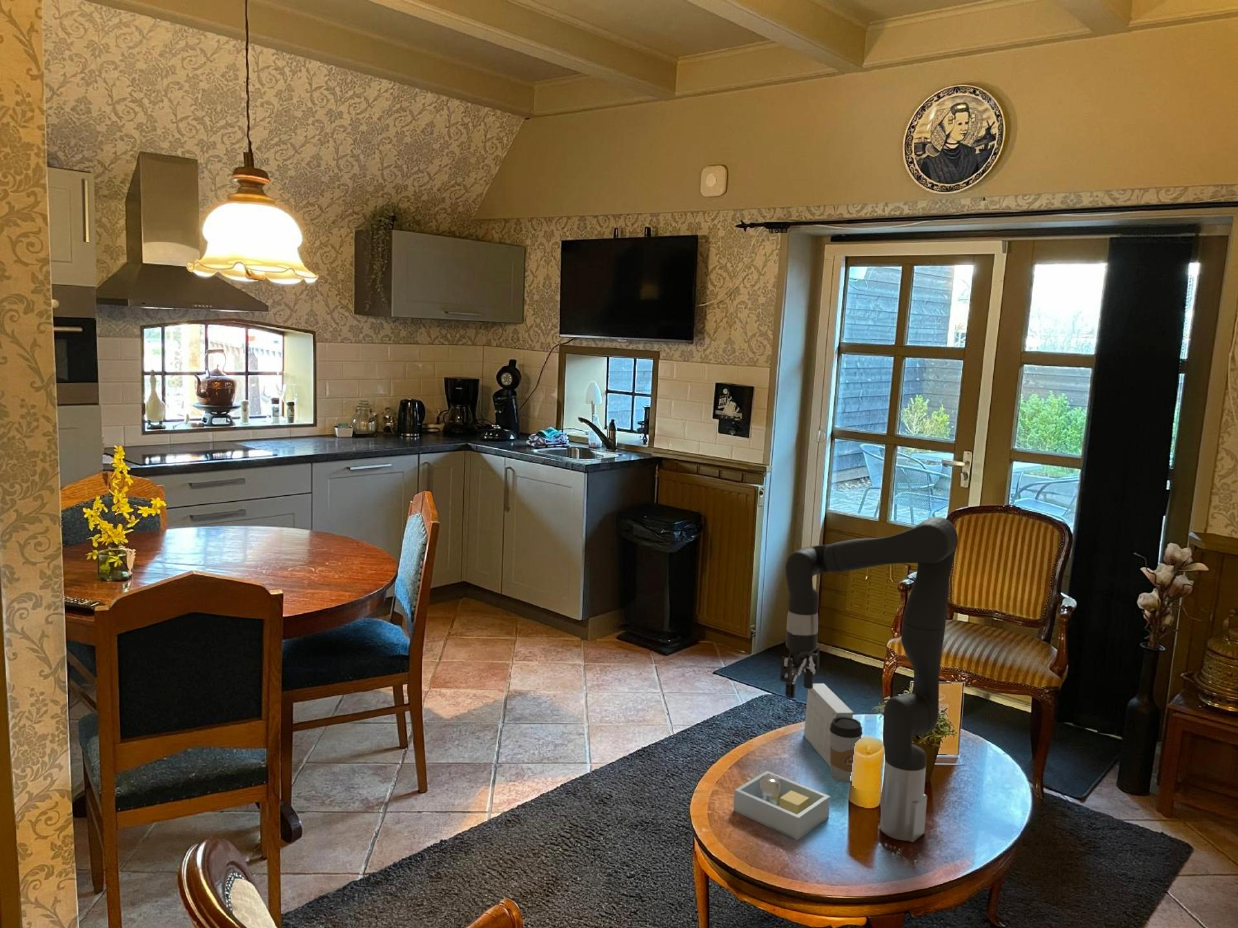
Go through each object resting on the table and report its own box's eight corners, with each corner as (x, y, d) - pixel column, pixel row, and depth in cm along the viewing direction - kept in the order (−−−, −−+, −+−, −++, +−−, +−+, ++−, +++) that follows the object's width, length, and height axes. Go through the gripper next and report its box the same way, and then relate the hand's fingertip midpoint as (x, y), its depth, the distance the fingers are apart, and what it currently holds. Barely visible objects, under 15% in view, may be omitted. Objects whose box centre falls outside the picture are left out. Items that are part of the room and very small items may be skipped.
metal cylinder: (766, 798, 231) (768, 772, 229) (783, 806, 227) (785, 779, 226) (754, 805, 227) (756, 779, 226) (772, 813, 224) (773, 786, 222)
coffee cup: (835, 785, 239) (839, 730, 237) (821, 770, 247) (824, 717, 245) (865, 782, 241) (868, 728, 239) (850, 767, 249) (853, 714, 247)
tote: (828, 817, 224) (830, 796, 223) (797, 839, 214) (798, 817, 213) (766, 790, 236) (767, 770, 235) (733, 810, 226) (734, 789, 225)
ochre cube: (790, 809, 226) (791, 790, 225) (808, 817, 222) (809, 797, 222) (778, 817, 222) (779, 797, 221) (796, 824, 219) (798, 805, 218)
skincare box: (850, 768, 249) (854, 712, 247) (831, 769, 248) (834, 713, 246) (820, 734, 270) (824, 681, 267) (803, 735, 269) (806, 682, 266)
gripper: (803, 619, 234) (801, 681, 236) (773, 632, 223) (770, 696, 226) (830, 626, 229) (827, 689, 231) (800, 639, 219) (797, 705, 221)
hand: (799, 692), depth 228 cm, fingers open, 8 cm apart
